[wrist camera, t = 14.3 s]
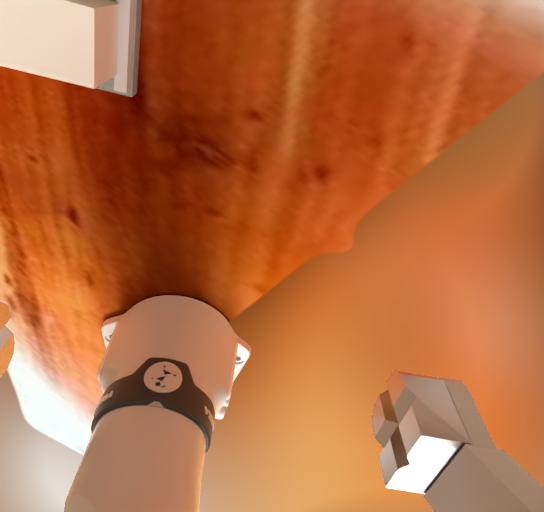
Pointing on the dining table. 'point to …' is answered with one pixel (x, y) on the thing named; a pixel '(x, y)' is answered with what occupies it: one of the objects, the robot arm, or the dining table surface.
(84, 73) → the rail board
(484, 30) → the dining table surface
